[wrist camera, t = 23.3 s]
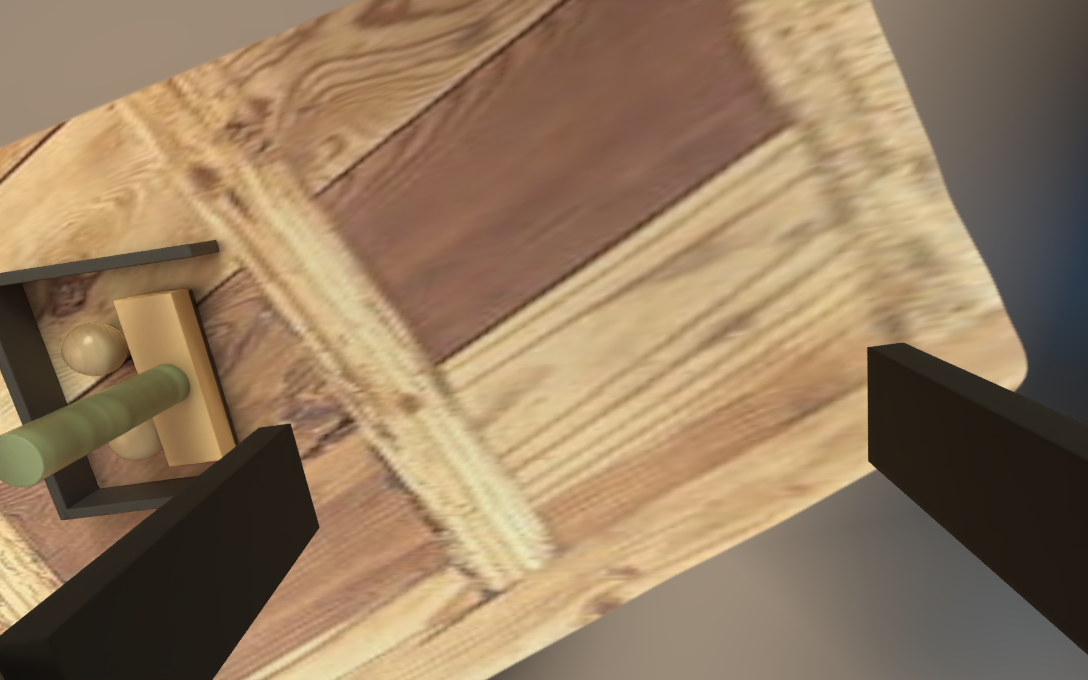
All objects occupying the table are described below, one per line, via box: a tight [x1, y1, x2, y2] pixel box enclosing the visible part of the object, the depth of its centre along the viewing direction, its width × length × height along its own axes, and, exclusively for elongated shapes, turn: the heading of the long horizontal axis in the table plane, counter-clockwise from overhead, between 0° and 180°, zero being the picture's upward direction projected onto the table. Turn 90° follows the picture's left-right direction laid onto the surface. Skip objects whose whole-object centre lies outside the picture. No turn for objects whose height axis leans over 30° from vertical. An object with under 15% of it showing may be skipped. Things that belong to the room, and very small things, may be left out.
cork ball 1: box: [61, 323, 128, 376], centre depth 39 cm, size 4×4×4 cm
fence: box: [0, 240, 219, 520], centre depth 40 cm, size 15×18×3 cm
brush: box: [0, 288, 238, 487], centre depth 35 cm, size 4×12×14 cm, turn 9°
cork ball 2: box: [107, 418, 163, 460], centre depth 41 cm, size 4×4×4 cm
